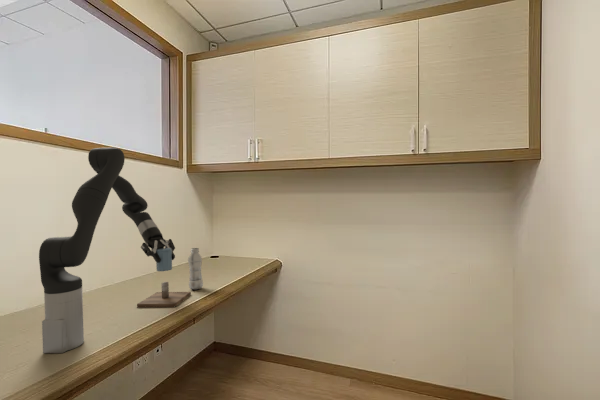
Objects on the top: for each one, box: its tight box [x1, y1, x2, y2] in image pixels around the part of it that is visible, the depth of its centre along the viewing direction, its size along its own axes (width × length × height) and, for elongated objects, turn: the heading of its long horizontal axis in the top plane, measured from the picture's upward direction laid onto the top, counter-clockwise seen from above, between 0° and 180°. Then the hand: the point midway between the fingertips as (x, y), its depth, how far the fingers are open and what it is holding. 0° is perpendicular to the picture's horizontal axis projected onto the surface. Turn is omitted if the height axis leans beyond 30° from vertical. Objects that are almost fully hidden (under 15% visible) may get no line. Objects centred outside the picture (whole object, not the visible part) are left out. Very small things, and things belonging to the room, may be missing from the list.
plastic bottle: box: [187, 247, 204, 291], centre depth 151 cm, size 6×7×20 cm
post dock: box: [136, 281, 192, 309], centre depth 134 cm, size 16×16×8 cm
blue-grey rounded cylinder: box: [155, 247, 173, 272], centre depth 134 cm, size 6×6×9 cm
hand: (166, 260), depth 133 cm, fingers closed on blue-grey rounded cylinder, 6 cm apart
